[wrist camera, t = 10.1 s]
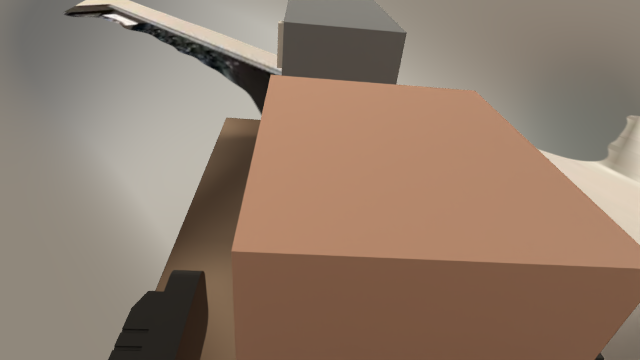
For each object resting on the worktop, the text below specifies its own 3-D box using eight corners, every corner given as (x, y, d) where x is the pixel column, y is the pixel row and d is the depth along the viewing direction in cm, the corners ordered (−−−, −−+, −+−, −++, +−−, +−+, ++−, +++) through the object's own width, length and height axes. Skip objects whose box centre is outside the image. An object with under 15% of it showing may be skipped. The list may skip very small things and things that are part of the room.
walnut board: (393, 143, 38) (396, 129, 37) (615, 667, 11) (643, 658, 10) (227, 132, 37) (226, 117, 36) (14, 694, 10) (-8, 685, 9)
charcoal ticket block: (342, 139, 34) (362, -11, 28) (362, 250, 22) (406, 32, 16) (282, 136, 34) (289, -19, 27) (271, 246, 22) (278, 21, 15)
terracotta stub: (386, 371, 16) (474, 90, 10) (424, 574, 11) (665, 270, 5) (264, 369, 16) (270, 74, 9) (244, 578, 11) (230, 251, 4)
